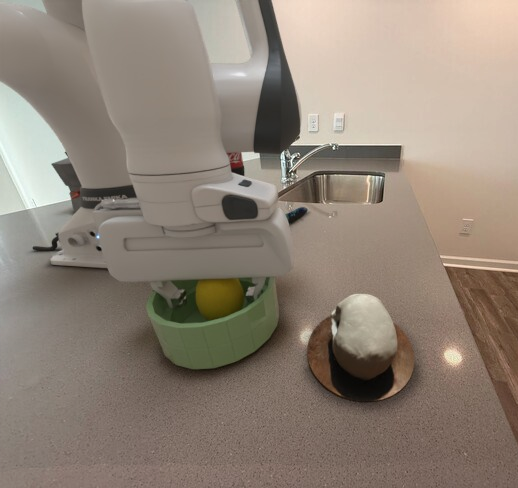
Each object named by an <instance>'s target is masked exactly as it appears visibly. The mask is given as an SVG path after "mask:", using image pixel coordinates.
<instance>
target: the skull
mask: <svg viewBox="0 0 518 488" xmlns="http://www.w3.org/2000/svg"><path fill="white" fill-rule="evenodd" d="M414 352H415V351H414V349H413V346H412V343H411V341H410V339H409V337H408V336H407V334H406V333H405V332H404V331H403V329H401V327H399V326H398V325H397V324H396V323H395V322H394V321H393V319H392V317H391V315H390V313H389V312H388V310H387V309H386V307H385V306H384V303H383V302H382V301H381V299H379V298H378V297H376V296H374V295H372V294H367V293H361V292H360V293H354V294H350V295H349V296H346V298H343V299H342V300H340V301H339V302H338V303H337V304H336V307H335V309H333V310H332V311H331V313H330V315H329V316H327V317H326V318H324V319H323V320H321V321H320V322H319V323H318V324H317V325H316V326H315V328H314V329H313V330H312V332H311V334H310V336H309V339H308V341H307V348H306V353H307V361H308V365H309V366H310V369H311V371H312V373H313V375H314V376H315V377H316V379H317V380H318V381H319V382H320V384H322V385H323V386H324V387H325V388H327V389H328V390H329V391H330V392H332V393H334V394H336V395H338V396H340V397H342V398H345V399H347V400H350V401H354V402H363V403H364V402H365V403H366V402H376V401H382V400H384V399H388V398H390V397H392V396H394V395H395V394H398V392H400V391H401V390H403V388H404V387H405V386H406V385H407V384H408V382H409V381H410V379H411V378H412V375H413V372H414V369H415V353H414Z"/></svg>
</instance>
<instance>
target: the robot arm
mask: <svg viewBox="0 0 518 488" xmlns="http://www.w3.org/2000/svg"><path fill="white" fill-rule="evenodd" d="M41 1H42V4H43V6H44V9H45V12H44V11H42V10H39V9H37V8H34V7H31V6H28V5H27V6H26V5H23V4H17V3H12V2H7V1H0V83H2V84H3V85H5V86H6V87H8V88H10V89H11V90H13V92H15V93H16V94H18V95H19V96H20V97H21V98H22V99H24V101H26V102H27V103H28V104H29V105H30V106H31V107H32V109H34V110H35V111H36V113H37V114H38V115H39V116H40V117H41V118H42V119H43V121H44V122H45V123H46V124H47V125H48V127H49V128H50V129H51V130H52V132H53V133H54V134H55V136H56V137H57V139H58V140H59V142H60V143H61V145H62V147H63V149H64V150H65V151H64V152H66V153H67V155H68V157H69V159H70V161H71V163H72V166H73V168H74V170H75V172H76V174H77V176H78V179H79V181H80V183H81V185H82V187H81V188H80V189H79V190H78V191H75V192H72V193H70V192H69V193H68V195H70V194H76V195H75V196H73V197H72V198H71V197H70V200H71V199H75V198H78V197H80V206H81V208H80V209H79V210H78V211H77V212H76V213H74V214H73V215H72V216H71V217H69V219H68V220H67V221H66V222H65V223H64V224H63V225H62V226H60V228H59V231H58V232H55V237H53V238H52V239H51V246H49V247H48V246H39V245H34V246H32V250H34V251H43V252H51V251H52V252H53V251H55V250H56V249H58V242H59V243H60V244H59V245H60V246H61V250H59V251H58V252H56V253H55V254H53V256H52V257H51V258H50V261H49V262H50V264H51V265H53V266H65V267H66V266H68V267H79V268H80V267H82V268H95V269H96V268H98V269H107V270H108V273H109V274H110V276H111V277H113V278H114V279H115V280H117V281H118V282H120V283H139V282H141V283H142V282H149V285H150V288H151V289H152V290H155V291H156V292H157V293H159V294H160V295H161V296H162V297H164V298H166V300H167V303H168V306H169V308H170V309H173V308H175V309H176V308H183V307H184V305H185V304H186V303H187V301H188V298H187V296H186V292H185V289H181V290H178V288H177V287H176V286H175V285H174V284H173V283H172V282H171V280H199V279H226V278H252V282H253V284H256V286H255V287H249V288H248V292H247V293H246V295H245V296H246V300H247V305H250V304H251V303H253V302H254V301H256V300H257V299H258V298H259V297H260V296H261V289H262V287H263V286H264V284H265V280H266V277H275V278H276V277H281V278H282V277H287V276H288V275H289V274H291V272H292V270H293V269H294V267H295V257H296V255H295V247H294V240H293V236H292V235H293V234H292V231H291V230H292V229H291V227H290V224H289V223H288V220H287V217H286V215H285V214H286V213H285V212H284V211H283V210H282V209H281V208H280V207H279V206H278V204H279V191H278V188H277V186H276V185H274V184H273V183H270V182H266V181H263V180H259V179H256V178H251V177H248V176H242V175H238V174H235V173H232V172H231V167H230V161H229V158H228V155H227V153H237V152H241V153H254V154H268V155H281V154H283V153H284V152H285V151H286V150H287V149H289V148H290V147H291V146H292V145H293V144H294V142H295V141H296V140H297V139H298V138H299V136H300V135H301V127H302V120H303V119H302V118H303V117H302V106H301V99H300V97H299V92H298V90H297V87H296V84H295V82H294V79H293V76H292V72H291V69H290V66H289V61H288V59H287V56H286V52H285V49H284V45H283V41H282V37H281V32H280V29H279V25H278V24H279V23H278V19H277V17H276V13H275V8H274V5H273V1H272V0H234V1H235V4H236V5H235V6H236V8H237V12H238V16H239V18H240V22H241V26H242V29H243V33H244V34H243V35H244V37H245V41H246V44H247V45H246V46H247V48H248V52H249V55H250V58H249V59H248V60H246V61H244V62H242V63H240V62H239V63H231V62H229V63H227V62H211V59H210V57H209V53H208V49H207V46H206V41H205V39H204V35H203V32H202V29H201V25H200V22H199V19H198V16H197V12H196V11H195V9H194V6H193V4H192V3H191V2H190V1H188V0H41ZM67 155H66V156H67ZM68 157H67V158H68Z"/></svg>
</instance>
